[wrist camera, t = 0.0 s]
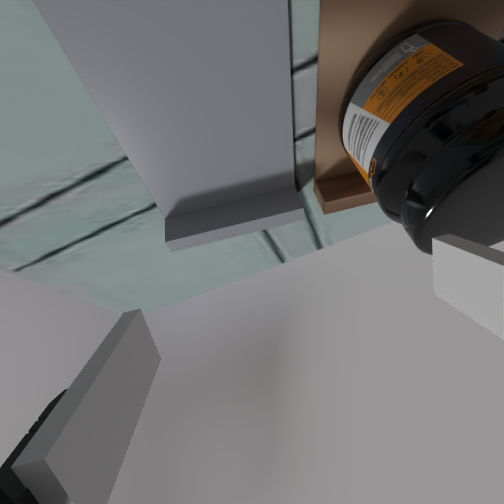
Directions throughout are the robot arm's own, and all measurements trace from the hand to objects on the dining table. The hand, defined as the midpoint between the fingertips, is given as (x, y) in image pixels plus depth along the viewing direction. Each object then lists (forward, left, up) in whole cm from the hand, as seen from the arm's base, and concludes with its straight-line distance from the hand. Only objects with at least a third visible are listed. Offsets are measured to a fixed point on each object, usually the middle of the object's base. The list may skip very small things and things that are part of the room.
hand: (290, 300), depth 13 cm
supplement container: (+1, +13, -15) cm, 20 cm away
